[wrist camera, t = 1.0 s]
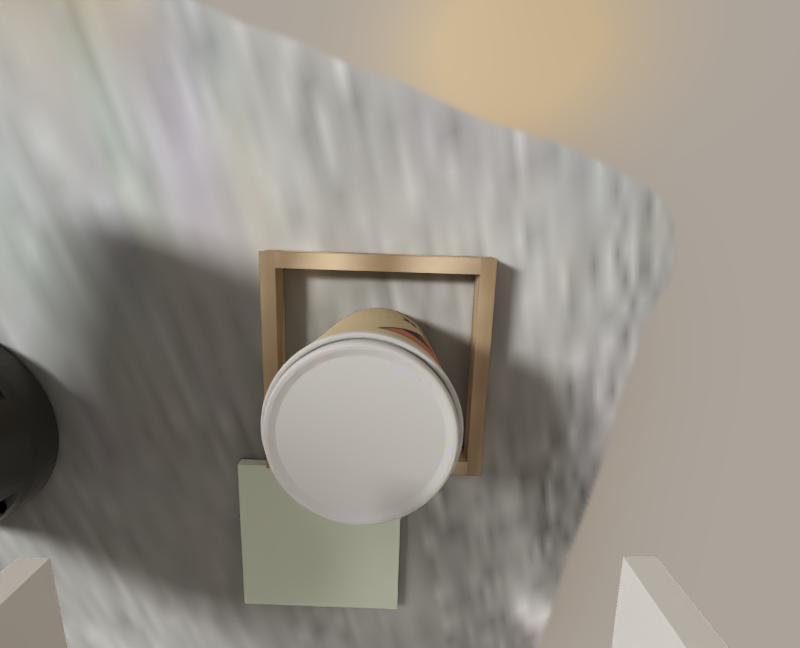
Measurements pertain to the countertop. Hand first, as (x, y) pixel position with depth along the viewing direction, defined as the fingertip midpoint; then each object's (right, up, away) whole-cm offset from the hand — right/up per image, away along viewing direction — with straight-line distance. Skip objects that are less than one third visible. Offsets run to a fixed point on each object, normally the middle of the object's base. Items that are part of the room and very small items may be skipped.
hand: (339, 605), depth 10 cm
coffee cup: (0, +4, +21) cm, 22 cm away
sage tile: (-5, -10, +24) cm, 26 cm away
